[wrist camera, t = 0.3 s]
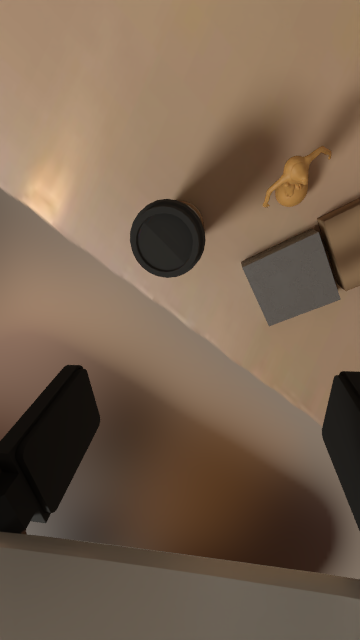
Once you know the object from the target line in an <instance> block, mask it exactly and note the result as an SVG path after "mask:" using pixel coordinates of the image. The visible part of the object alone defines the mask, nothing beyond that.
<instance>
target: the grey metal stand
mask: <svg viewBox="0 0 360 640" xmlns="http://www.w3.org/2000/svg"><path fill="white" fill-rule="evenodd" d="M241 264H242V268H243V270H244V272H245V275H246V277H247V279H248V281H249V283H250V286H251V288H252V290H253V292H254V294H255V297H256V299H257V301H258V303H259V305H260V307H261V310H262V312H263V314H264V316H265V318H266V321H267V323H268V325H269V326H271V325H274V324H276V323H279V322H282V321H284V320H287V319H290V318H292V317H295V316H298V315H300V314H303V313H306V312H308V311H311V310H314V309H316V308H319V307H322V306H324V305H327V304H330V303H332V302H335V301H338V300H340V296H339V293H338V290H337V287H336V284H335V281H334V278H333V275H332V272H331V269H330V266H329V262H328V259H327V256H326V253H325V250H324V247H323V244H322V241H321V238H320V235H319V232H318V231H316V230H314V229H310V230H308V231H306V232H304V233H302V234H300V235H297V236H295V237H293V238H291V239H289V240H287V241H285V242H283V243H281V244H278V245H276V246H274V247H272V248H270V249H268V250H266V251H264V252H262V253H259V254H257V255H255V256H253V257H251V258H249V259H247V260H245V261H243V262H241Z"/></svg>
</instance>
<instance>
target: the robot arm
mask: <svg viewBox="0 0 360 640" xmlns="http://www.w3.org/2000/svg"><path fill="white" fill-rule="evenodd" d="M99 423H100V415H99V412H98V408H97V405H96V401H95V398H94V394H93V391H92V387H91V384H90V381H89V377H88V373H87V371H86V369H83V367H82V366H80V365H67V366H65V367H64V368H63V369H62V370H61V371H60V373H58V375H57V376H56V377H55V378H54V379H53V380H52V382H51V383H50V384H49V385H48V386H47V387H46V389H45V390H44V391H43V392H42V393H41V394H40V396H39V397H38V398H37V399H36V400H35V401H34V403H33V404H32V405H31V406H30V407H29V409H28V410H27V411H26V412H25V413H24V414H23V415H22V417H21V418H20V419H19V420H18V421H17V422H16V424H15V425H14V426H13V427H12V428H11V429H10V431H9V432H8V433H7V434H6V435H5V436H4V438H3V439H2V440H1V441H0V640H360V579H353V578H347V577H341V576H334V575H327V574H321V573H314V572H307V571H300V570H292V569H285V568H278V567H271V566H264V565H256V564H249V563H242V562H235V561H228V560H220V559H213V558H206V557H198V556H190V555H184V554H176V553H169V552H161V551H153V550H146V549H138V548H131V547H123V546H116V545H108V544H100V543H91V542H84V541H76V540H69V539H61V538H53V537H45V536H36V535H27V533H26V528H27V526H28V524H29V522H30V521H33V522H41V523H46V522H47V520H48V518H49V516H50V514H51V513H53V512H55V511H56V509H57V508H58V506H59V504H60V502H61V500H62V498H63V496H64V494H65V492H66V490H67V488H68V486H69V484H70V482H71V480H72V478H73V476H74V474H75V472H76V470H77V468H78V466H79V464H80V462H81V460H82V458H83V456H84V454H85V452H86V451H87V449H88V446H89V445H90V443H91V441H92V439H93V437H94V435H95V433H96V431H97V429H98V427H99ZM322 436H323V440H324V443H325V445H326V448H327V450H328V453H329V455H330V458H331V460H332V463H333V465H334V468H335V470H336V473H337V475H338V478H339V480H340V483H341V485H342V488H343V490H344V492H345V495H346V498H347V500H348V503H349V505H350V508H351V510H352V513H353V515H354V518H355V520H356V523H357V525H358V528H359V530H360V372H349V371H342V372H341V373H340V374H339V375H336V376H335V377H334V380H333V384H332V388H331V393H330V397H329V401H328V406H327V410H326V414H325V419H324V423H323V428H322Z"/></svg>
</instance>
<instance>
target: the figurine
mask: <svg viewBox="0 0 360 640" xmlns="http://www.w3.org/2000/svg"><path fill="white" fill-rule="evenodd" d="M320 153H324V154H326V155H329V159H330V158H331V154H332V153H331V151H330V150H329V149H326V148H325V147H324V146H321V147H319V148H318V149H316V150H315V151H313V152H312V153H311V154H309V155H307V156H305V157H301V156H294V157H291V158H290V159H289V160H288V161H287V162H286V164H285V167H284V172H283V175H282V176H281V177H280V179H279V180H278V181H276V182H275V183H274V184H273V185H272V186H271V187H270V188H269V189H268V190H267V193H266V197H265V202H264V203H263V206H264V207H265V208H266V207H267V206H269V205H268V204H267V203H268V201H269V199H270V195H271V193H272V191H274V190H275V189H276V190H275V195H276V199H277V201H278V202H279V203H280V204H281V205H283V206H286V207H291V206H295V205H297V204H299V203H300V202H301V201H302V200H303V199H304V198H305V196H306V194H307V191H308V178H309V176H308V170H309V165H310V163H311V161H312V160H313V159H315V158H316V157H317V156H318V155H319V154H320ZM267 208H268V207H267Z"/></svg>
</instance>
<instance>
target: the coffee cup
mask: <svg viewBox="0 0 360 640" xmlns="http://www.w3.org/2000/svg"><path fill="white" fill-rule="evenodd" d="M130 243H131V247H132V251H133V254H134V256H135V258H136V260H137V261H138V263H139V264H140V265H141V266H142V267H143V268H144V269H145V270H147V271H148V272H149V273H152V274H154V275H156V276H160V277H167V278H169V277H177V276H180V275H182V274H185V273H186V272H188V271H189V270H191V269H192V268H193V267H194V266H195V264H196V263H197V262H198V261H199V259H200V258H201V255H202V253H203V251H204V246H205V231H204V225H203V218H202V216H201V213H200V212H199V210H198V209H197V208H196V207H195V206H194V205H193V204H190V203H188V202H184V201H177V200H171V199H163V200H157V201H155V202H152V203H150V204H148V205H147V206H146V207H145V208H144V209H143V210H141V211H140V212H139V213H138V215H137V217H136V218H135V220H134V221H133V224H132V228H131V231H130Z"/></svg>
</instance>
